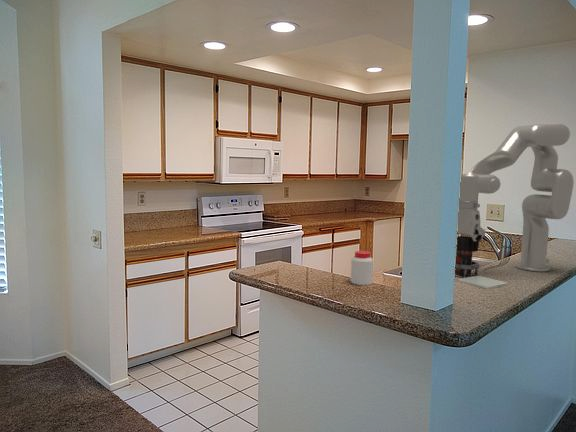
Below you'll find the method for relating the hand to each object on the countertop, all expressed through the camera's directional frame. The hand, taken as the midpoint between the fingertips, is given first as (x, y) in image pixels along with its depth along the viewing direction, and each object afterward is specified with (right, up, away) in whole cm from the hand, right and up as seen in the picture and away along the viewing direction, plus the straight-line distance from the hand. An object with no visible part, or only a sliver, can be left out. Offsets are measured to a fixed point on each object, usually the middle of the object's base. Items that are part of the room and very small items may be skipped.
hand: (463, 249), depth 173 cm
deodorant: (0, -10, +1) cm, 10 cm away
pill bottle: (-42, -11, -13) cm, 46 cm away
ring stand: (0, -10, +1) cm, 10 cm away
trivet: (+2, -12, -11) cm, 16 cm away
